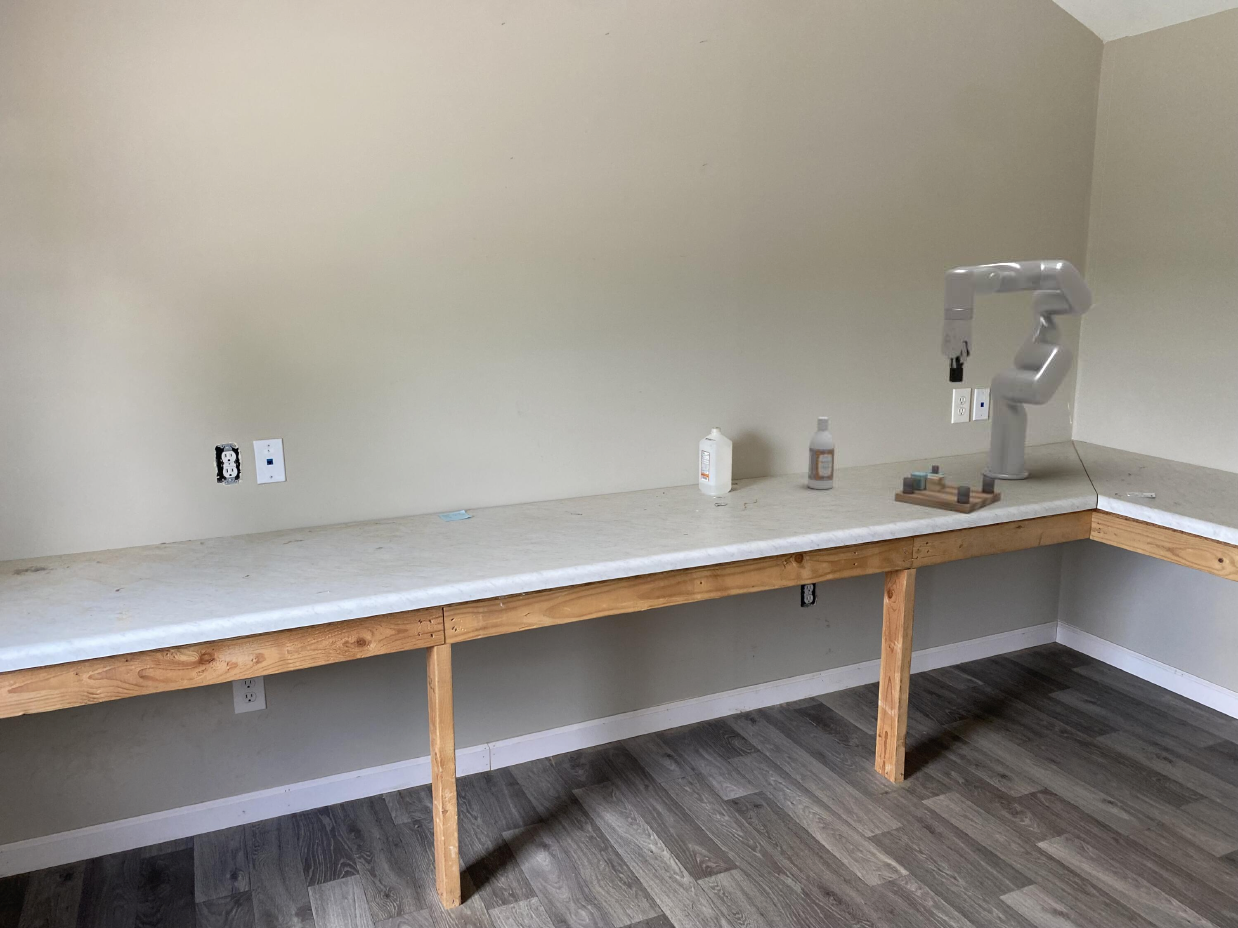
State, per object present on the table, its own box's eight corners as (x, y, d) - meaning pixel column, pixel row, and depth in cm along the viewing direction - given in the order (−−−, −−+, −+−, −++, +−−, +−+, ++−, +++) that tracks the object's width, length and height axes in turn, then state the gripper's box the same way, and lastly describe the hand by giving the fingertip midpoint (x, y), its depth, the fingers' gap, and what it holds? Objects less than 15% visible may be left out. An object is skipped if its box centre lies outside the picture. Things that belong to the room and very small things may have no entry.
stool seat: (929, 487, 258) (931, 463, 256) (1000, 499, 244) (1002, 473, 243) (894, 500, 244) (896, 474, 242) (967, 513, 230) (969, 486, 229)
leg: (929, 480, 256) (930, 466, 255) (944, 483, 253) (945, 469, 252) (908, 487, 248) (908, 473, 247) (923, 490, 245) (924, 475, 244)
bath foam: (812, 490, 256) (815, 419, 252) (804, 484, 263) (806, 416, 258) (836, 489, 257) (839, 419, 253) (827, 483, 264) (830, 415, 259)
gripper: (934, 314, 257) (932, 379, 261) (955, 317, 242) (953, 386, 246) (960, 312, 257) (958, 377, 261) (983, 316, 242) (980, 385, 247)
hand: (955, 381), depth 254 cm, fingers closed
